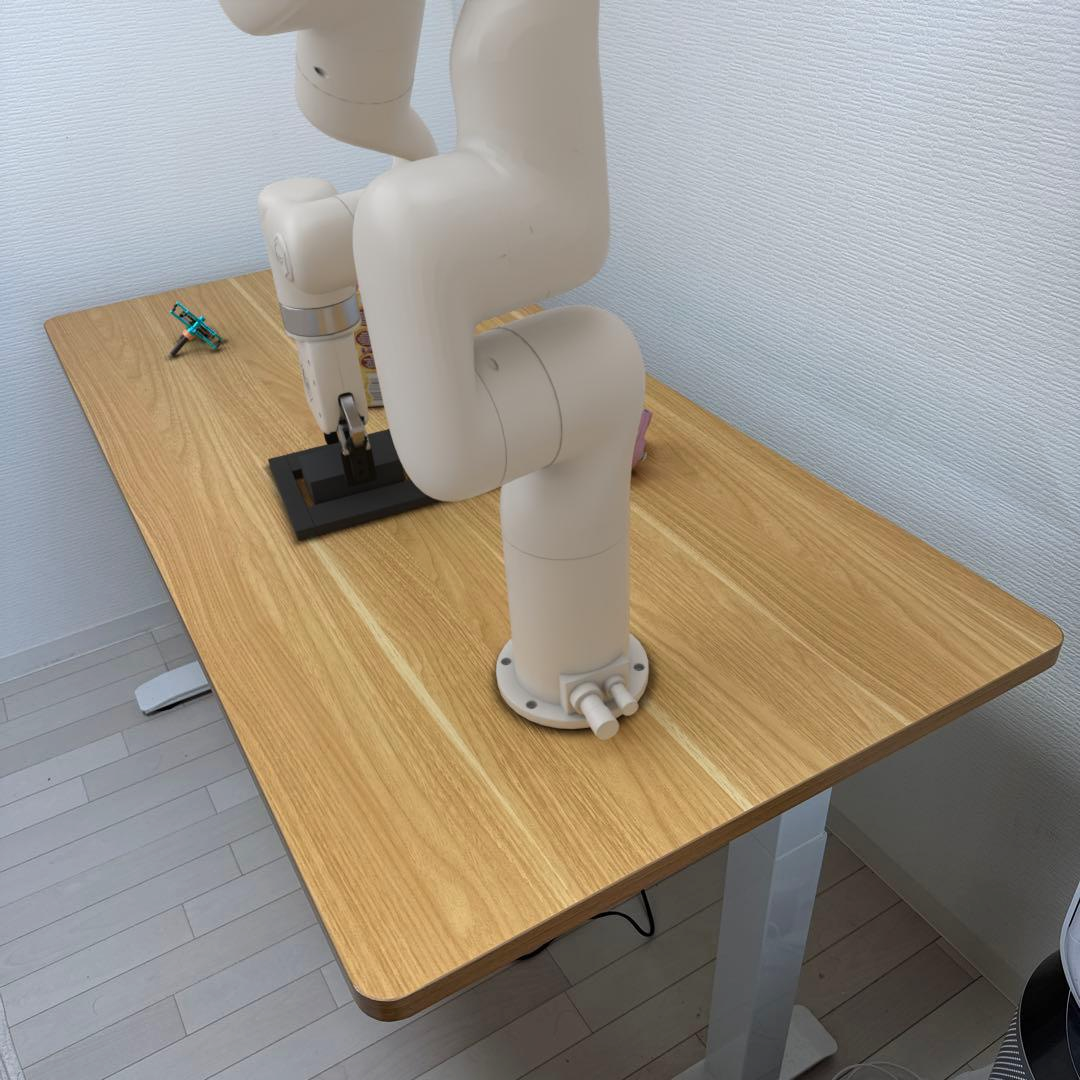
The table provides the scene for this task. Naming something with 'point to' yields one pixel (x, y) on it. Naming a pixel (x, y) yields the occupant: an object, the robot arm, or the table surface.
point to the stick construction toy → (192, 329)
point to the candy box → (367, 360)
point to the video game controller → (641, 438)
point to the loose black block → (328, 472)
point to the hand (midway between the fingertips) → (350, 461)
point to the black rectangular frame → (343, 509)
